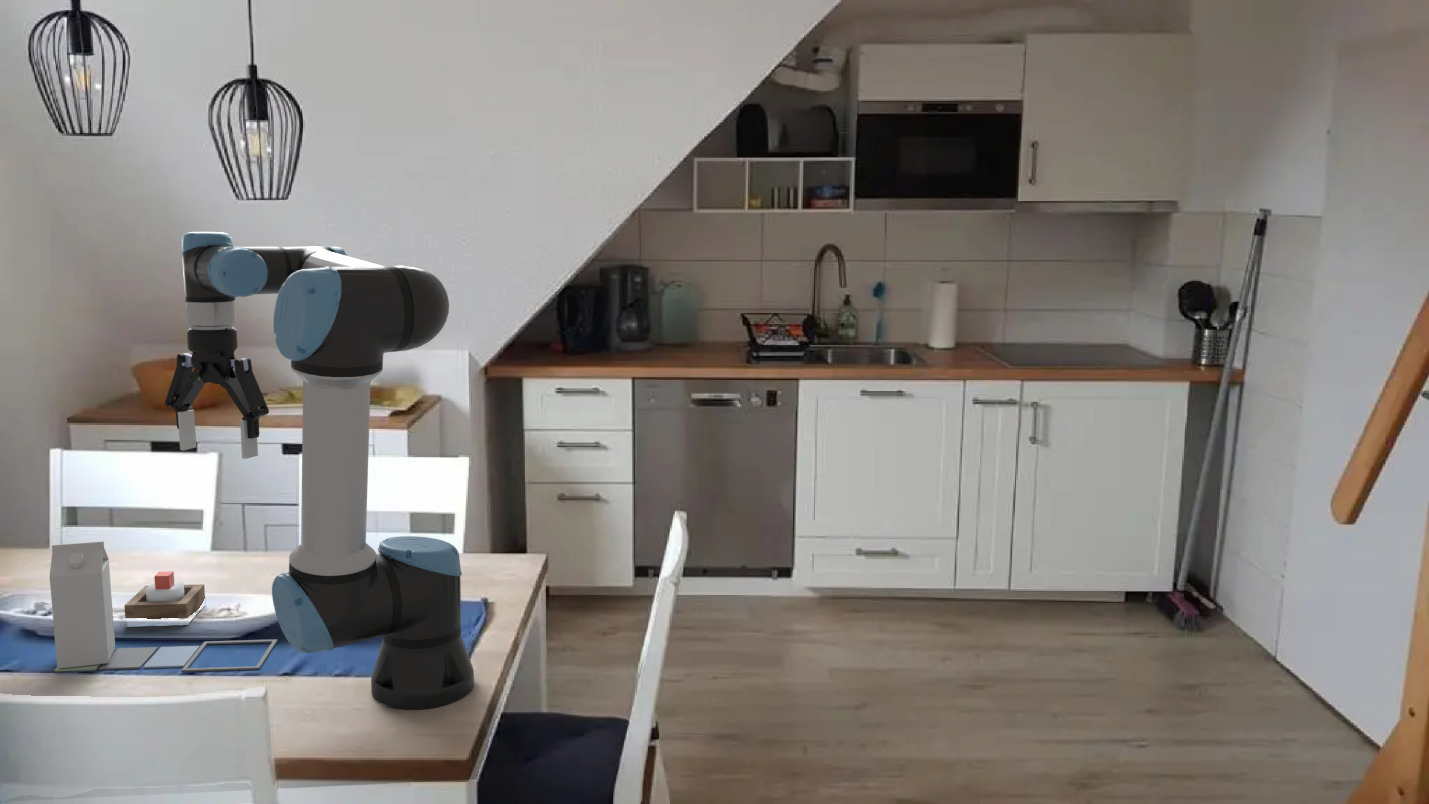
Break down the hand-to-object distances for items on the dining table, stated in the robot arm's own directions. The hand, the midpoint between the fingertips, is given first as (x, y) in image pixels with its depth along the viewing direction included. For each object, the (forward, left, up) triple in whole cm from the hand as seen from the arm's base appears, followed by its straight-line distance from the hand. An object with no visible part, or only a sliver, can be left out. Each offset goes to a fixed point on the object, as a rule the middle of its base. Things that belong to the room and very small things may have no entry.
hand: (218, 453), depth 187 cm
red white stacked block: (+6, +12, -29) cm, 32 cm away
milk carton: (-13, +18, -31) cm, 38 cm away
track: (-13, +6, -31) cm, 34 cm away
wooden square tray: (+6, +12, -31) cm, 34 cm away
